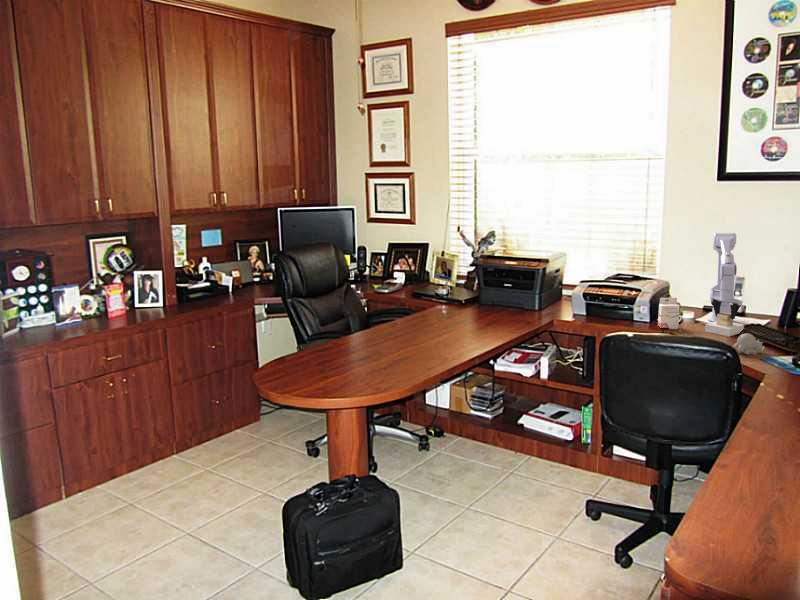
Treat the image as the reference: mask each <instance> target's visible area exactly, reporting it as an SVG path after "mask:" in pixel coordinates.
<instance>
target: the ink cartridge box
mask: <svg viewBox="0 0 800 600" xmlns="http://www.w3.org/2000/svg"><path fill="white" fill-rule="evenodd" d="M677 300H678V298H677V297H660V298H659V303H658V314H657V315H658V317H657V318H658V319H657V327H658V326H659V327H660V328H669V329H668V330H678V329H679V322H680V321H679V318H680V305H679V304H678V303H677ZM659 327H658V328H659ZM660 328H659V329H660Z"/></svg>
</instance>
